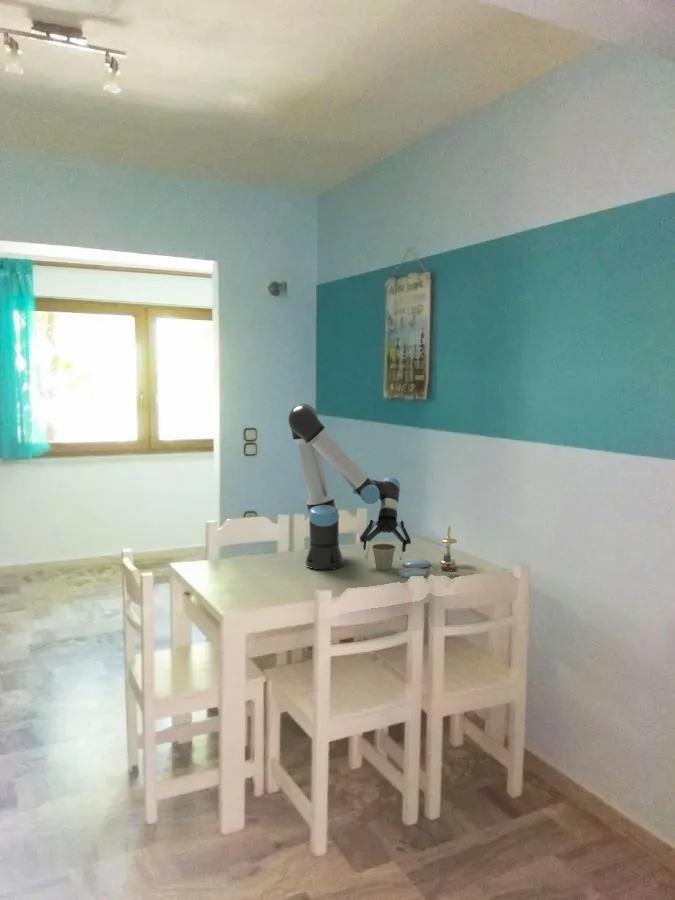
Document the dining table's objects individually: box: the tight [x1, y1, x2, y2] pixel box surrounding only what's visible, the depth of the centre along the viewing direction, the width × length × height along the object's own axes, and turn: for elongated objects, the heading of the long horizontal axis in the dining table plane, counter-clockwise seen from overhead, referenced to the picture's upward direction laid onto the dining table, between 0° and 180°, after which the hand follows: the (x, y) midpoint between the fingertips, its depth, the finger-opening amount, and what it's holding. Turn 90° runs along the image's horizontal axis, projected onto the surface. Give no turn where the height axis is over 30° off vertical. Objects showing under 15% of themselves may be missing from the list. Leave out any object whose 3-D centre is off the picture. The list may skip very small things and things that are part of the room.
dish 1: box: [397, 567, 428, 579], centre depth 266 cm, size 11×11×1 cm
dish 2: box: [401, 558, 431, 569], centre depth 278 cm, size 11×11×1 cm
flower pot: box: [371, 543, 396, 571], centre depth 274 cm, size 9×9×9 cm
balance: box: [439, 525, 458, 572], centre depth 272 cm, size 6×21×15 cm, turn 168°
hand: (383, 557), depth 272 cm, fingers open, 13 cm apart
